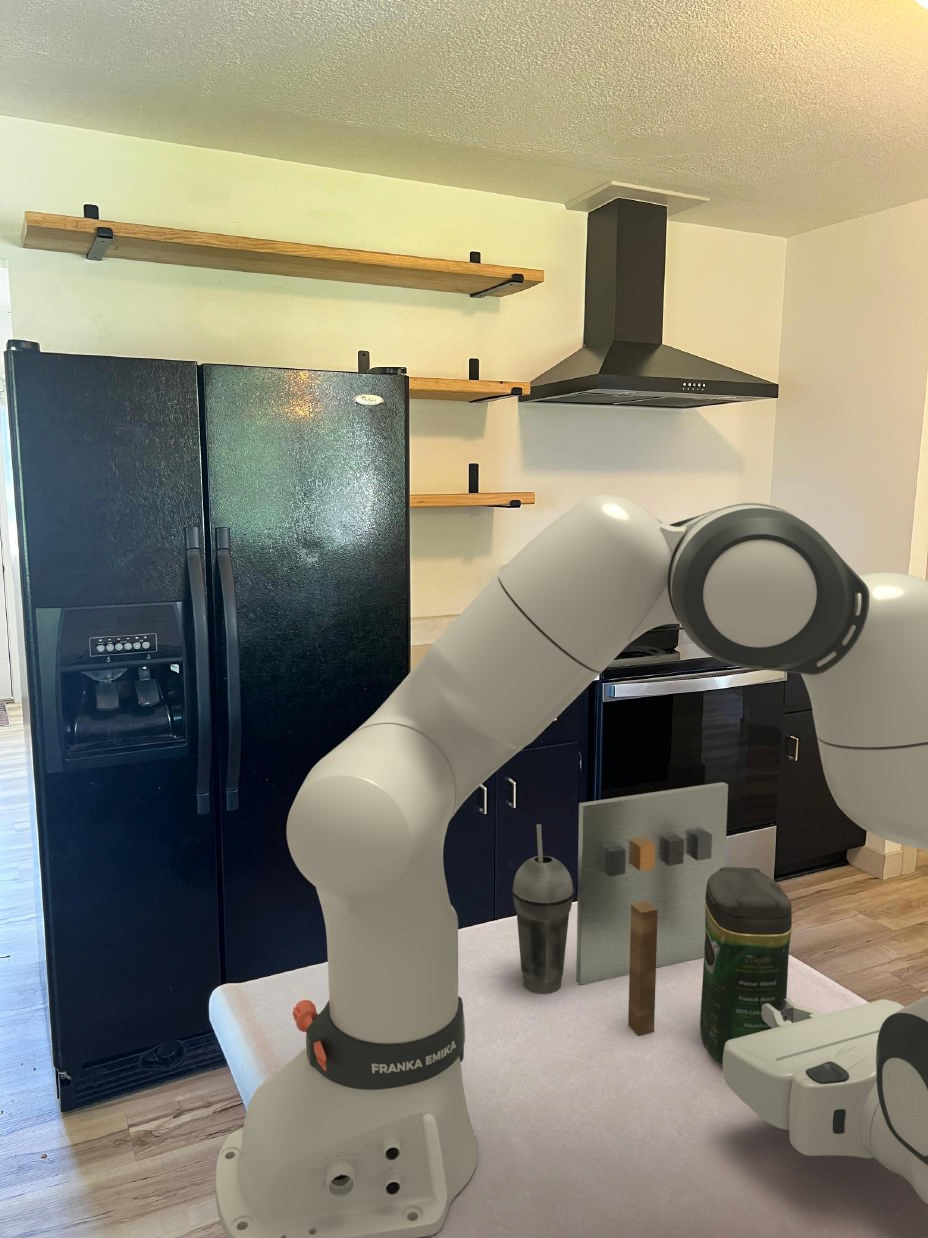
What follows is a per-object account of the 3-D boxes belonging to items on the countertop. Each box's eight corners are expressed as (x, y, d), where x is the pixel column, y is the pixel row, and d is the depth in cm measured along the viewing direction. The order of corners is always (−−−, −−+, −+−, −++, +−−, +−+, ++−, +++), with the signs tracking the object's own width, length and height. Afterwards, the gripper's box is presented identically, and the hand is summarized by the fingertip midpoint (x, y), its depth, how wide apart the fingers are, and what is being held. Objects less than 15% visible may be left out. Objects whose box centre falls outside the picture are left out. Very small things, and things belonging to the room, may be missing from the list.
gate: (638, 1036, 96) (641, 912, 94) (628, 1025, 97) (631, 904, 95) (774, 1001, 102) (780, 884, 100) (762, 992, 104) (768, 877, 102)
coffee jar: (794, 1078, 89) (804, 902, 86) (713, 1076, 89) (720, 900, 86) (765, 1021, 98) (774, 860, 95) (693, 1019, 99) (698, 859, 96)
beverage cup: (583, 978, 107) (586, 818, 104) (556, 1008, 101) (557, 838, 98) (529, 961, 111) (530, 806, 108) (500, 988, 105) (500, 825, 102)
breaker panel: (585, 990, 104) (588, 809, 101) (576, 981, 106) (579, 803, 103) (727, 957, 111) (734, 787, 108) (716, 949, 113) (723, 782, 110)
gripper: (976, 1034, 79) (857, 958, 92) (789, 1090, 72) (688, 999, 85) (971, 1100, 80) (853, 1015, 93) (785, 1161, 73) (686, 1060, 85)
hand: (773, 1007), depth 88 cm, fingers closed, pressing on coffee jar
